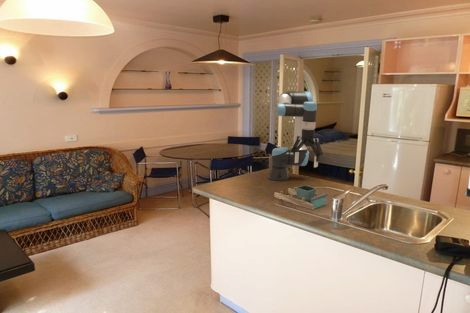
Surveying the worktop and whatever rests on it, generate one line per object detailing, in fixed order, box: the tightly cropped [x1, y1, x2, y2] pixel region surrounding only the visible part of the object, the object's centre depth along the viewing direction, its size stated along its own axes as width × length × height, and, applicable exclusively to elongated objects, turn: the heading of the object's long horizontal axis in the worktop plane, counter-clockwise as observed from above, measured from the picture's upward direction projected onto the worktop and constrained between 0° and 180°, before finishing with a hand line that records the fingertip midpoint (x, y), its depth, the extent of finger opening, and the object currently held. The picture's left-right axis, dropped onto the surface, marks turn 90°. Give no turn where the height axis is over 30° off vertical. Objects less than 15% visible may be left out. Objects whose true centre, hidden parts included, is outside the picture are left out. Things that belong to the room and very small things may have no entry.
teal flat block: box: [310, 192, 329, 210], centre depth 193 cm, size 15×2×6 cm, turn 133°
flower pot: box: [296, 184, 317, 203], centre depth 200 cm, size 9×9×9 cm
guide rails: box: [273, 186, 328, 210], centre depth 203 cm, size 15×28×5 cm, turn 43°
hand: (305, 164), depth 197 cm, fingers open, 13 cm apart
